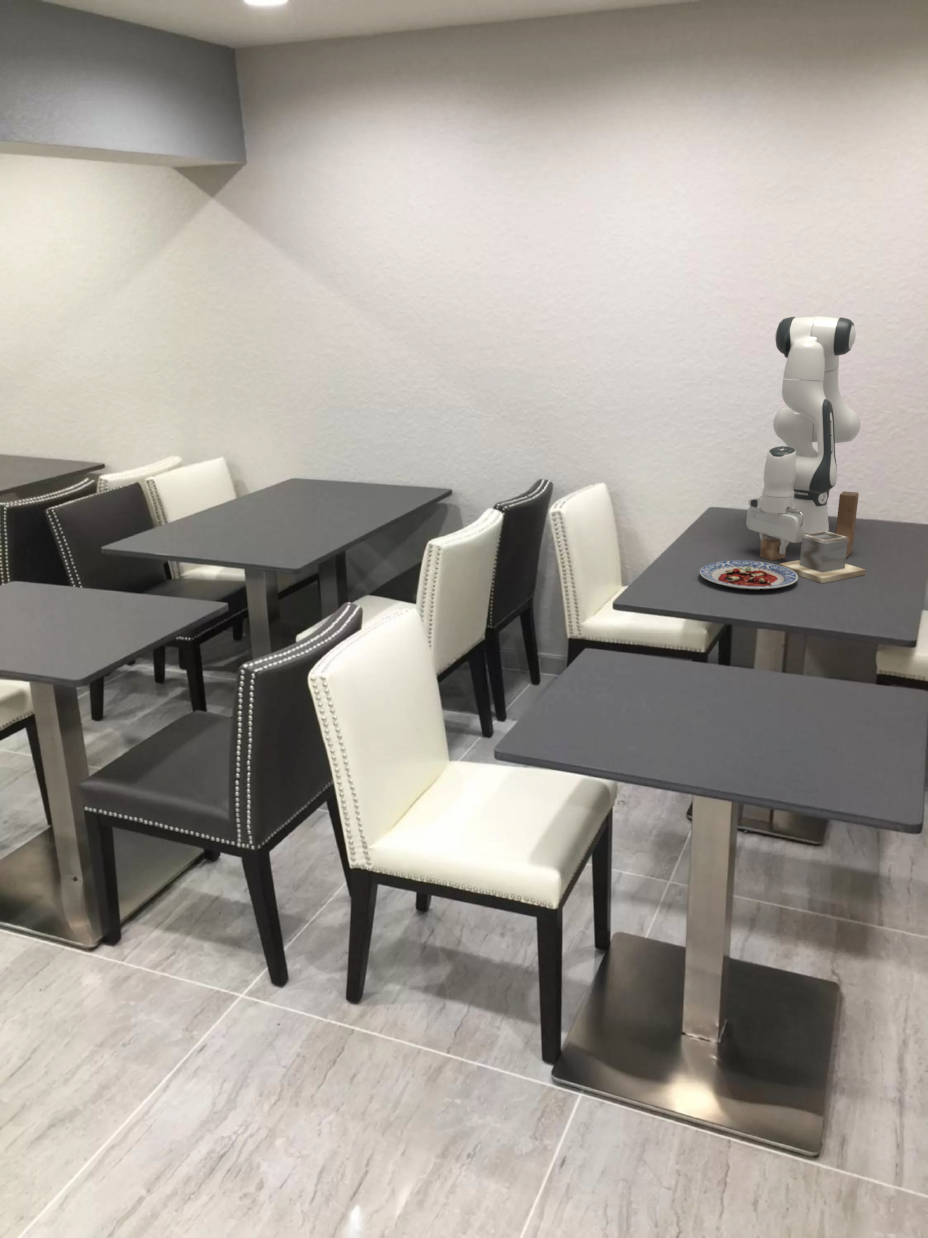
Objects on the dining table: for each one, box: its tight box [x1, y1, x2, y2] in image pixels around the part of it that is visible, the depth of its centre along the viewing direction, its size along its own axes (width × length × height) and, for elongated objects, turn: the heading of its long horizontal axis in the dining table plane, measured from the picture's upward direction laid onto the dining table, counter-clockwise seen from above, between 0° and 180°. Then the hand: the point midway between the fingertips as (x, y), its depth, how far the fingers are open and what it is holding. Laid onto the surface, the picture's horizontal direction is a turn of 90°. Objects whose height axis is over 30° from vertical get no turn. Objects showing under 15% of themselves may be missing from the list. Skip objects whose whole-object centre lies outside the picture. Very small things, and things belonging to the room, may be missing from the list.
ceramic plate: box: [699, 560, 799, 591], centre depth 274 cm, size 26×26×3 cm
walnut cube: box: [759, 537, 787, 561], centre depth 295 cm, size 5×5×5 cm
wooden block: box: [834, 490, 860, 559], centre depth 294 cm, size 9×4×18 cm, turn 148°
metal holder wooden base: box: [778, 531, 866, 584], centre depth 279 cm, size 16×16×10 cm
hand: (773, 550), depth 295 cm, fingers closed on walnut cube, 5 cm apart
